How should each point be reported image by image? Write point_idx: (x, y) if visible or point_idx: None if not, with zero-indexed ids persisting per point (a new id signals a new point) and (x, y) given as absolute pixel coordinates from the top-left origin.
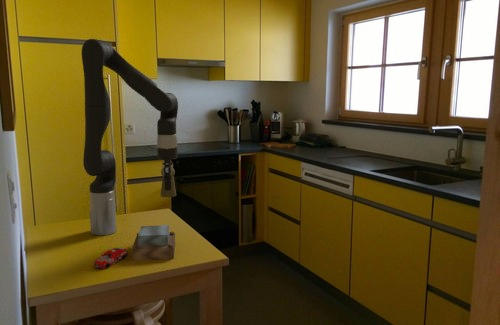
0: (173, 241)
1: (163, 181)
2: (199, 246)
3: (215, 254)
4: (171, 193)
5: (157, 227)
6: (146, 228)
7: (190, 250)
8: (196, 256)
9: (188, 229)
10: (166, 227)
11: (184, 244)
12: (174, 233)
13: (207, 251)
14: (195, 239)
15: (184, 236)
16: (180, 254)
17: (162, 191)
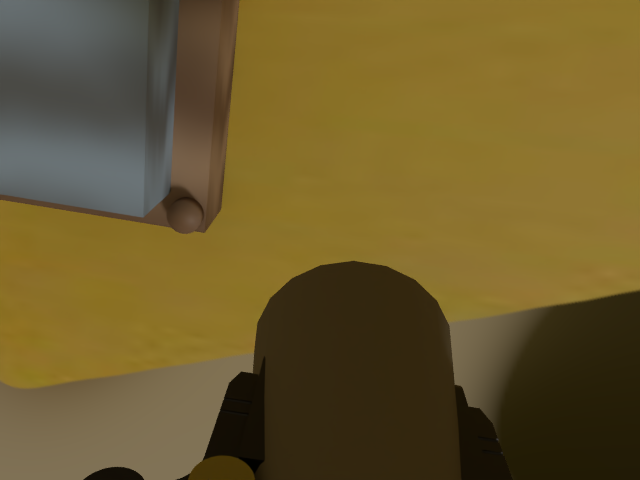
0: (55, 204)
1: (291, 443)
2: (152, 322)
3: (39, 369)
4: None
5: (96, 123)
6: (81, 26)
7: (102, 271)
8: (20, 285)
9: None
10: (89, 192)
11: (195, 255)
12: (180, 229)
13: (80, 344)
14: None
15: None
16: (52, 214)
17: (303, 315)
